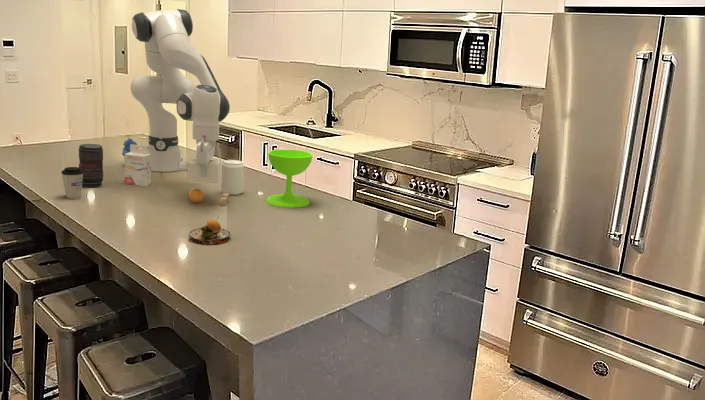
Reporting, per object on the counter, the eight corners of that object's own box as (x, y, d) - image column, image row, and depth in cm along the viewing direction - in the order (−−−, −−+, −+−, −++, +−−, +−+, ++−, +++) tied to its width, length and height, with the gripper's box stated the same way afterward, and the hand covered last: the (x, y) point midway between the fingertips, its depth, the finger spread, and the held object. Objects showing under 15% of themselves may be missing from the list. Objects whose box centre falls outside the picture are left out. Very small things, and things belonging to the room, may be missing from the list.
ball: (207, 191, 211) (201, 203, 212) (193, 184, 210) (188, 197, 211) (204, 194, 206) (198, 206, 207) (191, 188, 205) (185, 200, 206)
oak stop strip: (223, 200, 215) (223, 193, 214) (228, 200, 215) (228, 193, 215) (220, 205, 207) (221, 199, 207) (226, 206, 208) (226, 199, 207)
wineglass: (283, 193, 230) (286, 147, 226) (318, 202, 223) (321, 154, 218) (257, 201, 217) (258, 152, 213) (292, 210, 209) (295, 159, 205)
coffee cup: (57, 197, 202) (56, 168, 200) (75, 193, 209) (74, 165, 206) (71, 200, 199) (70, 171, 197) (89, 197, 205) (88, 168, 203)
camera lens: (87, 189, 215) (86, 148, 211) (75, 184, 220) (74, 144, 216) (108, 186, 221) (107, 146, 218) (96, 181, 226) (95, 142, 222)
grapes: (115, 165, 256) (114, 137, 253) (130, 163, 261) (129, 136, 258) (129, 170, 249) (128, 141, 246) (144, 168, 254) (143, 140, 251)
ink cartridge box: (124, 184, 226) (123, 145, 222) (130, 181, 231) (129, 143, 227) (145, 186, 225) (145, 147, 222) (151, 183, 230) (151, 145, 226)
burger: (213, 230, 182) (214, 206, 180) (238, 240, 175) (239, 216, 173) (179, 238, 173) (180, 213, 171) (205, 249, 166) (205, 223, 164)
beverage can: (238, 196, 221) (239, 164, 218) (217, 193, 223) (218, 162, 220) (246, 191, 229) (247, 161, 226) (226, 189, 230) (227, 158, 227)
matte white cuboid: (191, 177, 210) (191, 159, 208) (220, 178, 211) (220, 160, 210) (188, 182, 203) (188, 163, 202) (218, 183, 205) (218, 164, 203)
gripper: (211, 139, 194) (210, 180, 197) (218, 130, 213) (217, 168, 217) (191, 138, 193) (191, 179, 196) (200, 129, 213) (199, 167, 216)
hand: (205, 173), depth 207 cm, fingers closed on matte white cuboid, 7 cm apart
